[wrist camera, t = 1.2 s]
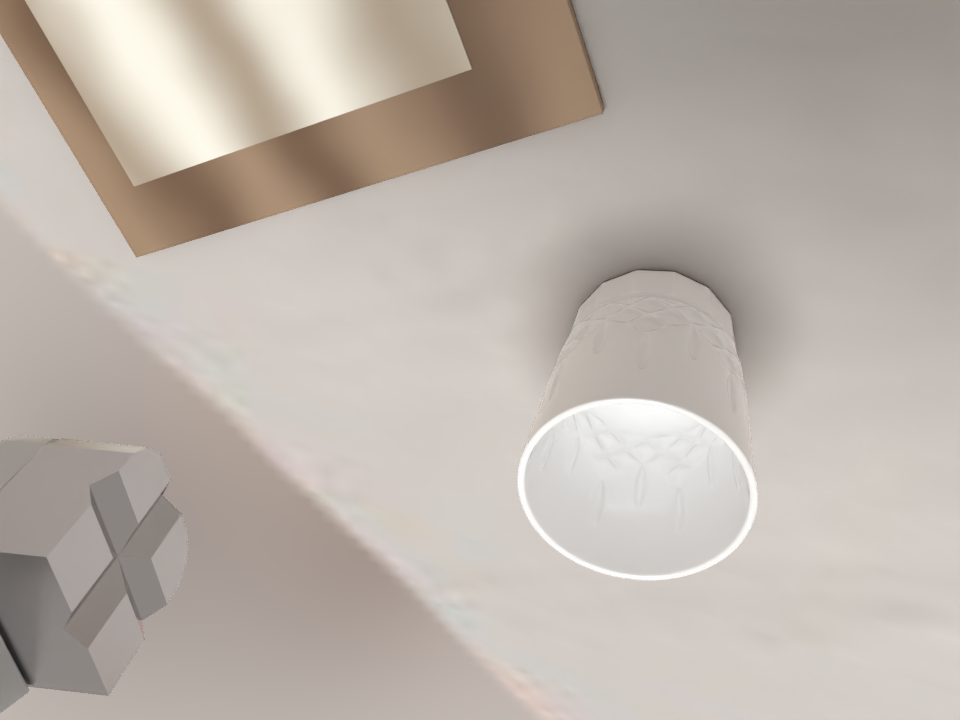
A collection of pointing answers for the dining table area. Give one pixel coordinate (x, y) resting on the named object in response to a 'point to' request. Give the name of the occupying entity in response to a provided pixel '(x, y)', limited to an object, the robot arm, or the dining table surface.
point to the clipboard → (287, 96)
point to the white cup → (643, 434)
